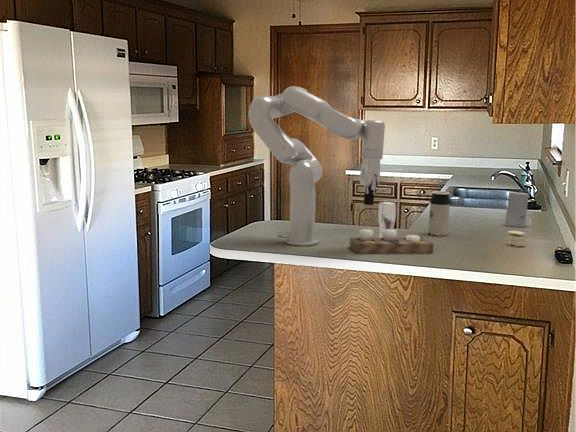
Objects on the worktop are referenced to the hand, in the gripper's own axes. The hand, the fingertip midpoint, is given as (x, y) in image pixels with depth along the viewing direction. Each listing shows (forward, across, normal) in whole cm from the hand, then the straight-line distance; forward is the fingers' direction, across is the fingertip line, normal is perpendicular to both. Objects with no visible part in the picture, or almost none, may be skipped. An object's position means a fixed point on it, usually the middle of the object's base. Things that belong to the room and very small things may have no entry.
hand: (368, 204), depth 233 cm
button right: (+15, +1, +18) cm, 23 cm away
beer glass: (+17, -16, +13) cm, 27 cm away
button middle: (+13, +1, +9) cm, 16 cm away
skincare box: (+15, -50, +88) cm, 102 cm away
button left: (+13, 0, 0) cm, 13 cm away
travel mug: (+16, -29, +40) cm, 52 cm away
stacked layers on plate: (+15, -5, +63) cm, 65 cm away
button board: (+16, +3, +9) cm, 19 cm away
